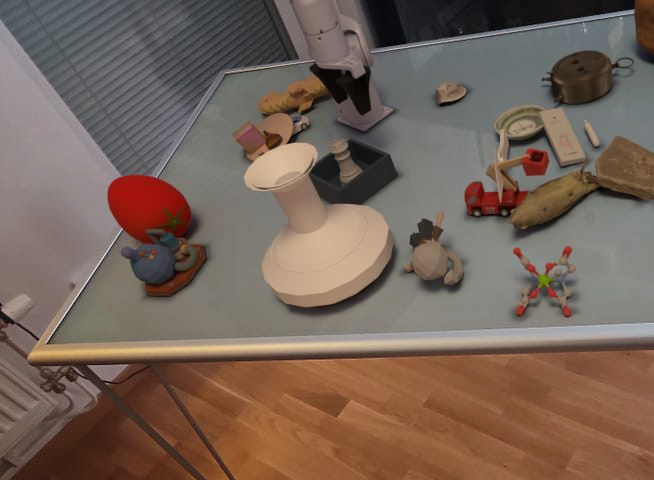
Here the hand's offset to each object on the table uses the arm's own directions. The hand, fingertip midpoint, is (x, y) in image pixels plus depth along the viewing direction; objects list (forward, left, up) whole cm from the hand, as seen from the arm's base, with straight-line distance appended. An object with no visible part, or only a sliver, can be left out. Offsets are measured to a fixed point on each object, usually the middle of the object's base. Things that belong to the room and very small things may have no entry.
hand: (354, 106), depth 106 cm
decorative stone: (+56, +17, -6) cm, 59 cm away
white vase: (+20, -24, -10) cm, 33 cm away
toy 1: (-34, -4, -8) cm, 35 cm away
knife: (+30, +3, -3) cm, 31 cm away
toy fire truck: (+34, +1, -10) cm, 36 cm away
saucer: (+22, +18, -10) cm, 30 cm away
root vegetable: (+43, +4, -5) cm, 43 cm away
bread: (+38, +49, +3) cm, 62 cm away
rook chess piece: (+4, -8, -10) cm, 13 cm away
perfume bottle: (-24, -8, -8) cm, 27 cm away
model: (-7, -40, -10) cm, 42 cm away
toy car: (-25, -5, -10) cm, 27 cm away
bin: (+4, -8, -10) cm, 13 cm away
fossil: (-3, +19, -8) cm, 21 cm away
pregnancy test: (+31, +18, -9) cm, 37 cm away
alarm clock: (+19, +28, -7) cm, 34 cm away
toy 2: (+33, -14, -10) cm, 37 cm away
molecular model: (+56, -9, -8) cm, 57 cm away
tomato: (-25, -36, -3) cm, 44 cm away
